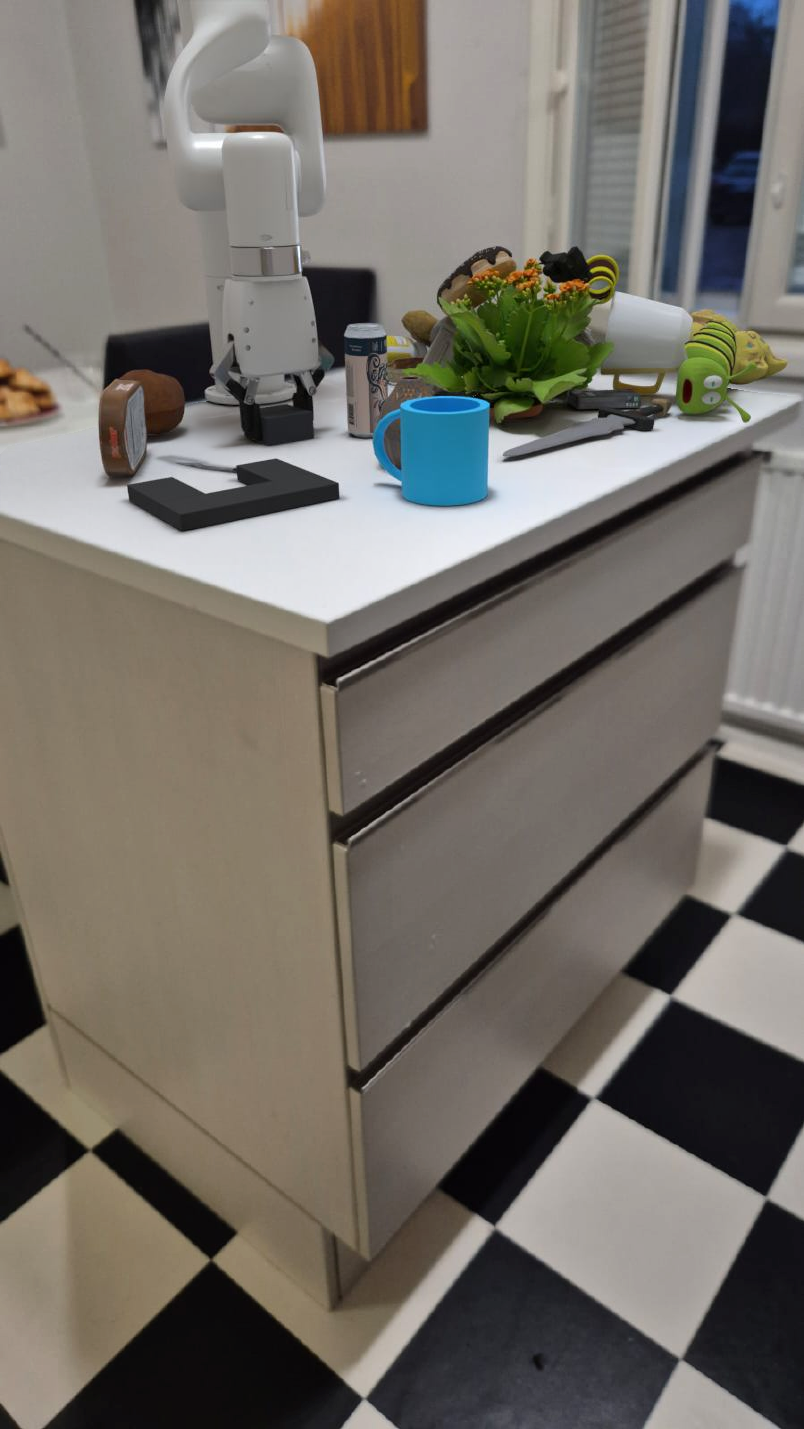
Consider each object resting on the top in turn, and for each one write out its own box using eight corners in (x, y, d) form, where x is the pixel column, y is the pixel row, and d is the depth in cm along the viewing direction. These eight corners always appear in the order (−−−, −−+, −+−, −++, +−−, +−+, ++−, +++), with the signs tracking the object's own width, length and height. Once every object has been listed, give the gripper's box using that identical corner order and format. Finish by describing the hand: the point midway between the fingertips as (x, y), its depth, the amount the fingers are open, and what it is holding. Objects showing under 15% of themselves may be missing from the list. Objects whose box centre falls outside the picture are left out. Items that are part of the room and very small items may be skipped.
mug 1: (502, 488, 95) (505, 401, 91) (461, 510, 89) (462, 417, 85) (397, 473, 101) (395, 389, 97) (351, 492, 94) (347, 404, 91)
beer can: (383, 439, 114) (381, 328, 108) (343, 438, 115) (338, 327, 109) (392, 430, 118) (390, 322, 112) (353, 429, 119) (349, 322, 113)
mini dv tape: (577, 397, 125) (567, 389, 131) (577, 409, 126) (567, 401, 131) (641, 395, 126) (629, 388, 131) (640, 407, 126) (628, 399, 132)
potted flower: (373, 423, 120) (369, 266, 112) (440, 389, 140) (440, 252, 131) (575, 438, 112) (587, 269, 104) (617, 399, 131) (629, 254, 123)
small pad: (244, 436, 116) (241, 410, 115) (288, 429, 119) (286, 403, 118) (268, 445, 112) (266, 418, 110) (314, 438, 115) (312, 411, 114)
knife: (296, 466, 102) (281, 472, 99) (297, 473, 102) (282, 479, 100) (164, 455, 108) (146, 460, 106) (164, 461, 109) (147, 467, 106)
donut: (525, 276, 130) (510, 249, 130) (514, 260, 119) (497, 230, 119) (454, 325, 134) (439, 299, 133) (437, 314, 123) (420, 285, 122)
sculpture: (476, 376, 150) (450, 374, 163) (489, 355, 149) (462, 356, 163) (406, 322, 145) (386, 325, 159) (419, 301, 144) (398, 306, 158)
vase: (384, 455, 107) (382, 371, 103) (448, 457, 106) (448, 371, 102) (372, 472, 101) (370, 383, 97) (439, 474, 100) (440, 384, 96)
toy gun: (561, 261, 113) (595, 299, 115) (579, 240, 112) (613, 279, 114) (512, 269, 131) (543, 302, 133) (528, 251, 131) (558, 284, 133)
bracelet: (453, 377, 148) (453, 356, 147) (430, 387, 141) (430, 365, 140) (400, 373, 151) (400, 353, 150) (375, 383, 144) (374, 362, 143)
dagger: (687, 415, 123) (689, 398, 122) (560, 470, 100) (561, 450, 99) (631, 408, 127) (633, 392, 126) (497, 460, 104) (497, 440, 103)
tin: (127, 450, 111) (115, 372, 107) (155, 449, 111) (144, 371, 107) (102, 486, 98) (88, 398, 94) (135, 485, 98) (122, 397, 94)
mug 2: (700, 280, 124) (615, 272, 126) (690, 344, 120) (604, 336, 122) (683, 356, 137) (606, 349, 138) (674, 416, 133) (595, 408, 135)
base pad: (128, 500, 93) (126, 484, 93) (277, 472, 101) (276, 458, 101) (182, 531, 85) (179, 514, 84) (339, 498, 93) (339, 482, 92)
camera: (434, 354, 144) (467, 294, 137) (466, 377, 144) (500, 318, 137) (402, 379, 136) (435, 317, 129) (436, 404, 136) (471, 343, 129)
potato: (206, 429, 120) (199, 364, 117) (150, 448, 112) (141, 379, 108) (150, 423, 123) (141, 360, 120) (91, 442, 115) (81, 375, 111)
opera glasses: (592, 272, 121) (624, 294, 122) (596, 245, 123) (627, 267, 125) (544, 326, 128) (575, 345, 130) (549, 300, 131) (578, 319, 133)
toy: (668, 358, 117) (756, 364, 113) (719, 293, 136) (795, 296, 132) (663, 420, 121) (747, 428, 117) (713, 349, 140) (787, 353, 136)
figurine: (709, 305, 144) (803, 328, 136) (696, 365, 150) (785, 392, 141) (665, 315, 138) (760, 340, 129) (652, 378, 143) (743, 407, 134)
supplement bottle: (359, 377, 151) (416, 379, 155) (372, 365, 146) (432, 368, 150) (355, 341, 151) (413, 345, 155) (368, 328, 146) (428, 332, 150)
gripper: (316, 258, 114) (325, 418, 122) (177, 267, 105) (197, 438, 114) (352, 261, 108) (358, 428, 117) (208, 271, 100) (226, 451, 108)
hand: (278, 432), depth 115 cm, fingers closed on small pad, 6 cm apart
